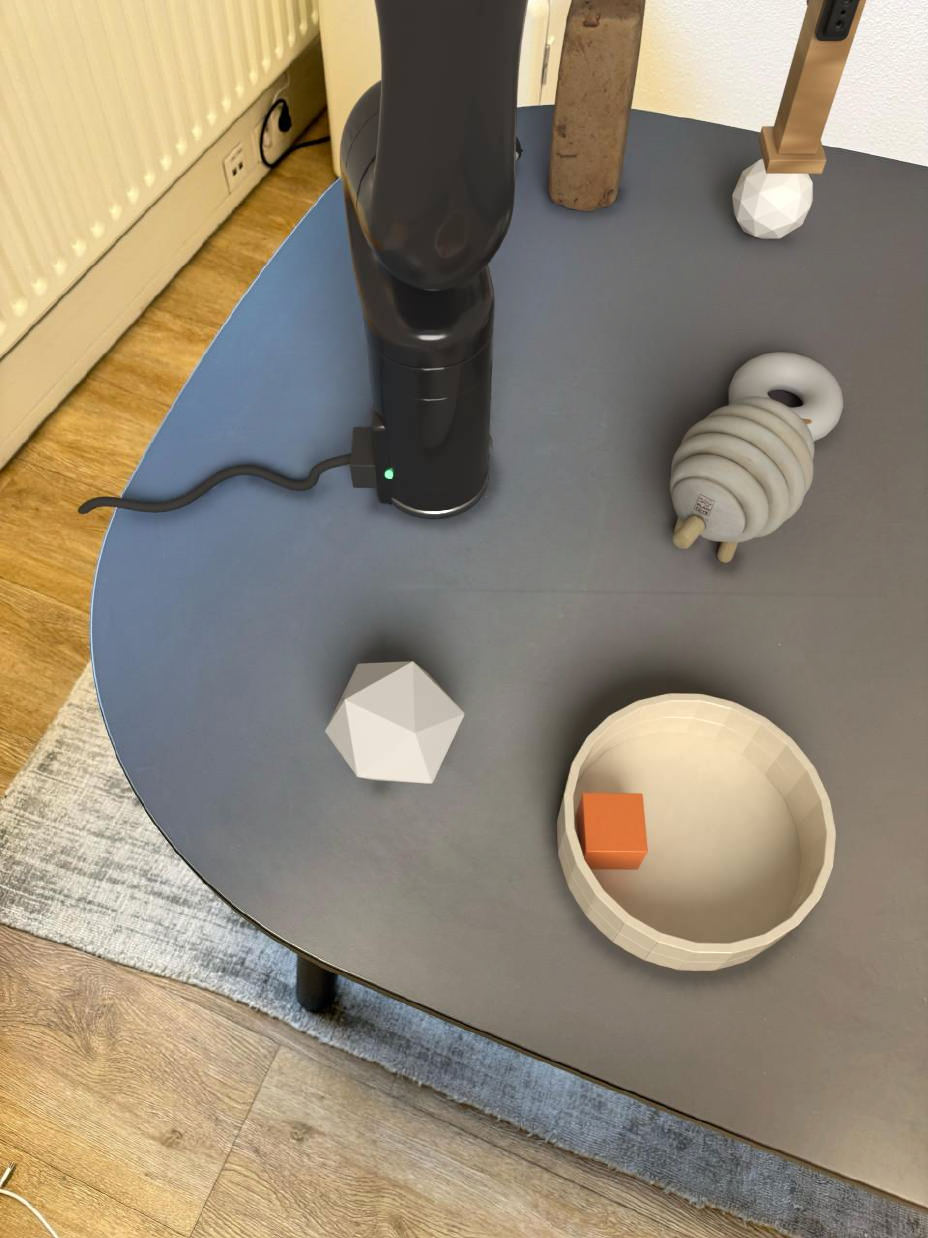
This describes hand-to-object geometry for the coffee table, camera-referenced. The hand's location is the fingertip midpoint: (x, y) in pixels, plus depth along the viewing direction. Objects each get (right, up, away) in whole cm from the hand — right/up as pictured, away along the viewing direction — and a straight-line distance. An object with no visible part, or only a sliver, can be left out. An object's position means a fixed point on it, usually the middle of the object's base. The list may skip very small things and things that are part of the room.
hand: (825, 22), depth 68 cm
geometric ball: (+5, -2, +32) cm, 32 cm away
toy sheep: (-4, -34, +13) cm, 36 cm away
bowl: (-11, -58, -1) cm, 59 cm away
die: (-30, -51, +3) cm, 60 cm away
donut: (+3, -24, +19) cm, 30 cm away
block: (-13, +4, +36) cm, 38 cm away
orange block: (-16, -57, -2) cm, 60 cm away
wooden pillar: (0, -5, +9) cm, 10 cm away
